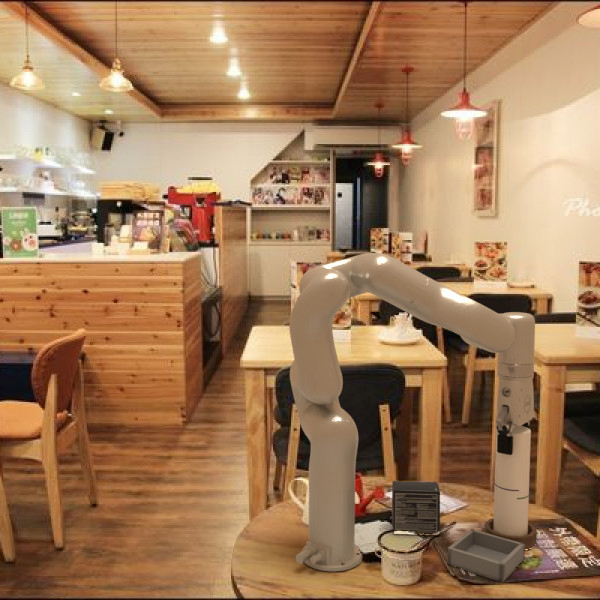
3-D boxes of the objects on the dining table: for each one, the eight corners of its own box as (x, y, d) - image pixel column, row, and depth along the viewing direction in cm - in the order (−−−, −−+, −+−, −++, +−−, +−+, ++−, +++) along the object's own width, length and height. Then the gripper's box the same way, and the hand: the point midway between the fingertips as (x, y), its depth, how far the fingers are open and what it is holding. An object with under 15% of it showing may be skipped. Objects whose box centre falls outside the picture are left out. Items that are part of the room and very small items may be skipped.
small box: (437, 524, 157) (438, 480, 157) (440, 537, 151) (441, 491, 150) (391, 522, 159) (392, 479, 158) (392, 535, 152) (393, 489, 151)
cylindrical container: (491, 532, 153) (494, 423, 151) (523, 534, 152) (527, 425, 150) (495, 546, 146) (498, 433, 144) (530, 548, 145) (533, 434, 143)
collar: (525, 556, 142) (525, 542, 142) (477, 542, 148) (477, 528, 148) (542, 538, 150) (543, 525, 150) (496, 526, 157) (496, 513, 156)
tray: (502, 582, 131) (503, 565, 131) (447, 564, 138) (447, 548, 138) (524, 560, 140) (524, 543, 140) (471, 544, 147) (471, 528, 147)
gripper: (517, 379, 137) (515, 461, 138) (546, 366, 150) (544, 441, 152) (482, 374, 141) (480, 454, 143) (513, 362, 155) (511, 435, 156)
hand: (513, 447), depth 147 cm, fingers open, 9 cm apart
